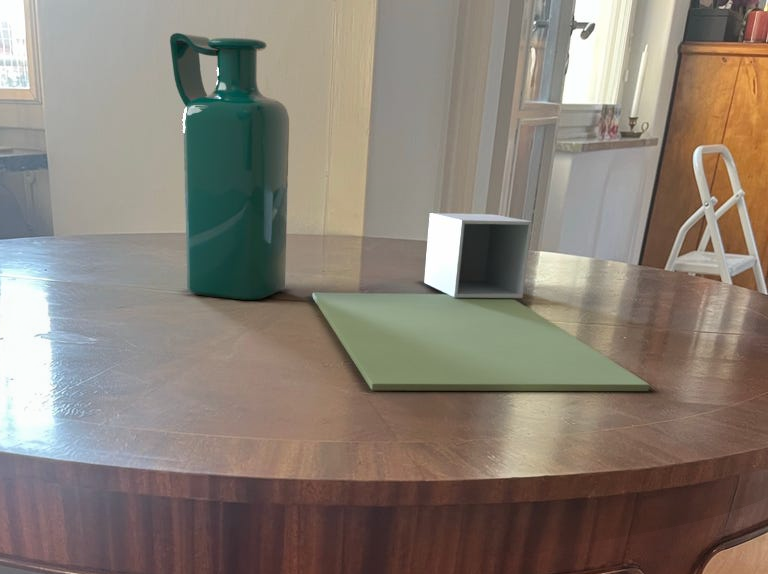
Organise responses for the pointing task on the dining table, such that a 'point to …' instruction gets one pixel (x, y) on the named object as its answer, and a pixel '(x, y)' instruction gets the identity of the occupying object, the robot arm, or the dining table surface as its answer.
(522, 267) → the bin
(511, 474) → the dining table surface
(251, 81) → the pitcher
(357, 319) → the mat
